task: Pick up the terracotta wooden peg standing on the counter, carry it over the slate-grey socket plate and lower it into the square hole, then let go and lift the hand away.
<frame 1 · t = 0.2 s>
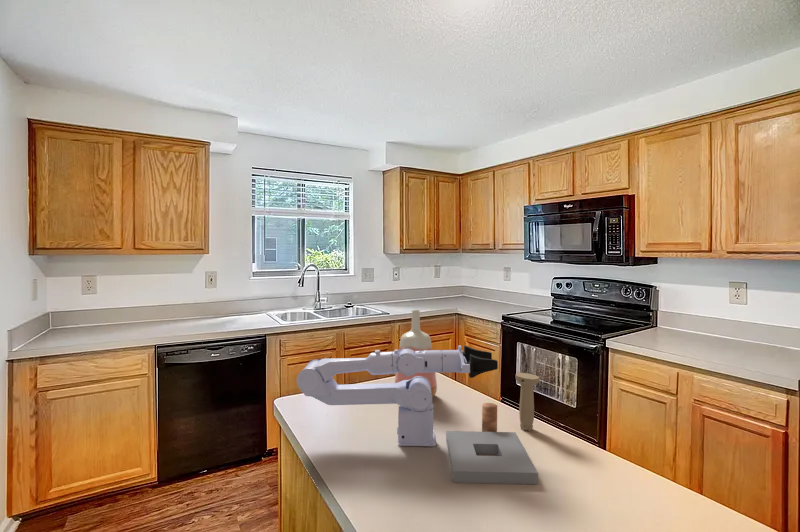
hand: (494, 360, 109), 21 cm above the countertop, tool horizontal, fingers open, 7 cm apart
vase: (415, 397, 142), on the countertop
socket plate: (487, 460, 100), on the countertop
peg: (489, 434, 113), on the countertop
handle: (526, 429, 117), on the countertop
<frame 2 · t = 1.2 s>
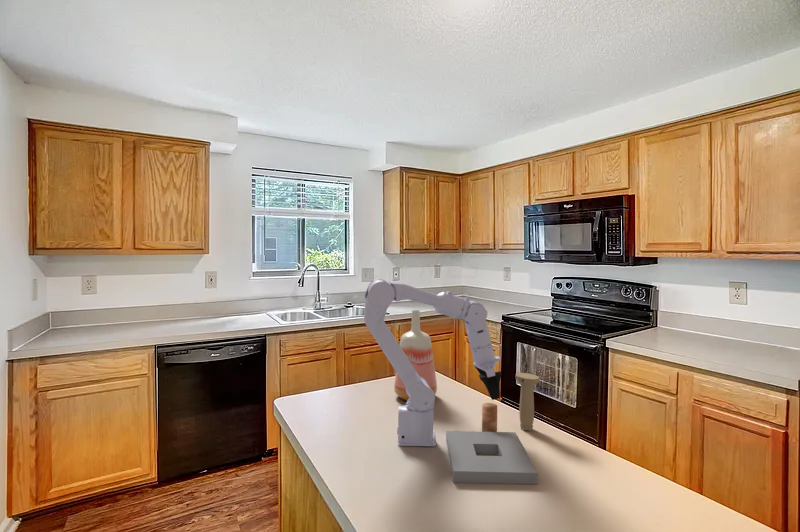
hand: (493, 392, 113), 12 cm above the countertop, tool tilted 15°, fingers open, 7 cm apart
nothing on the countertop moved.
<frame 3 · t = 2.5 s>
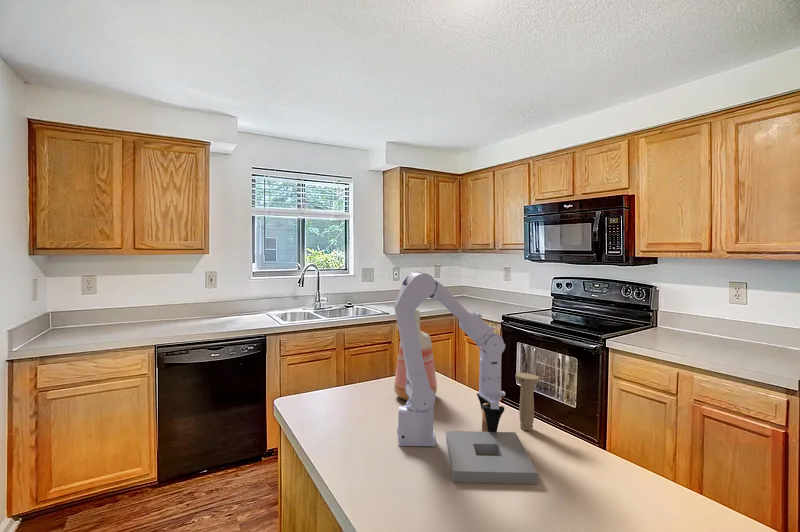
hand: (489, 425, 113), 2 cm above the countertop, tool pointing down, fingers open, 7 cm apart
nothing on the countertop moved.
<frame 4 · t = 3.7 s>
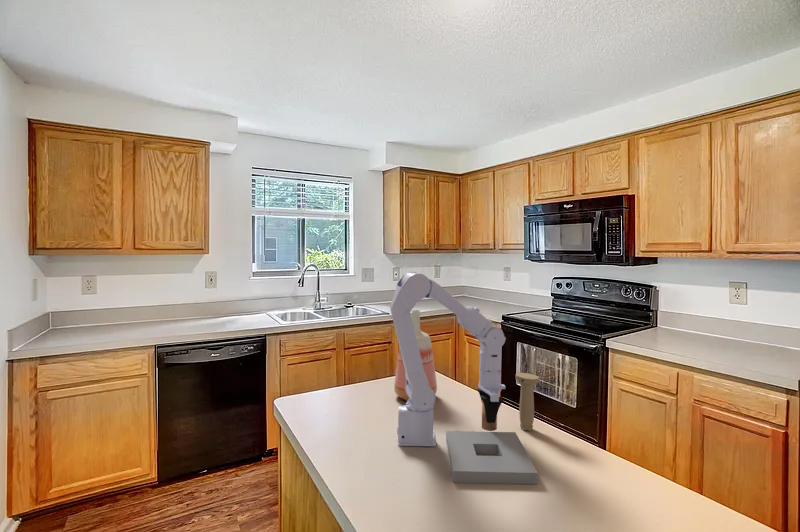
hand: (489, 418, 113), 4 cm above the countertop, tool pointing down, fingers closed on peg, 4 cm apart
peg: (489, 427, 113), point 2 cm above the countertop, touching gripper
everything else where it was.
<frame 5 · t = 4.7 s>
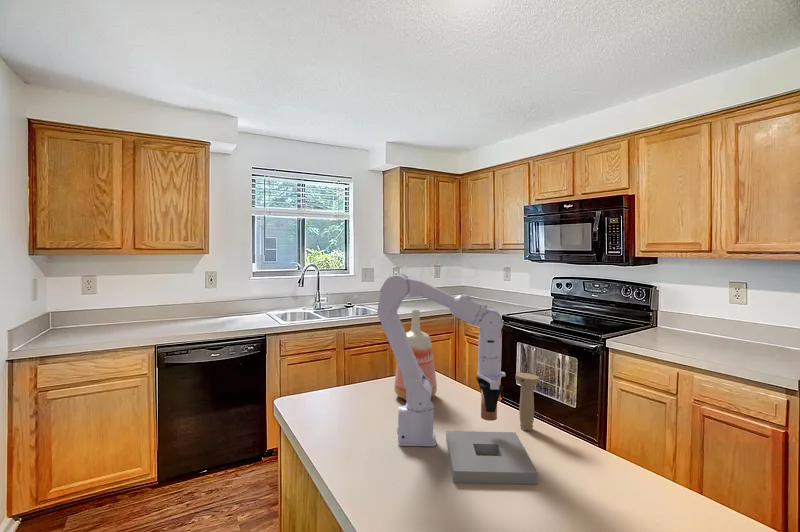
hand: (488, 408, 108), 9 cm above the countertop, tool pointing down, fingers closed on peg, 4 cm apart
peg: (488, 417, 108), point 7 cm above the countertop, touching gripper
everything else where it was.
when the fingers open (4 cm above the countertop, at t = 6.7 s): peg drops 1 cm, resting in socket plate.
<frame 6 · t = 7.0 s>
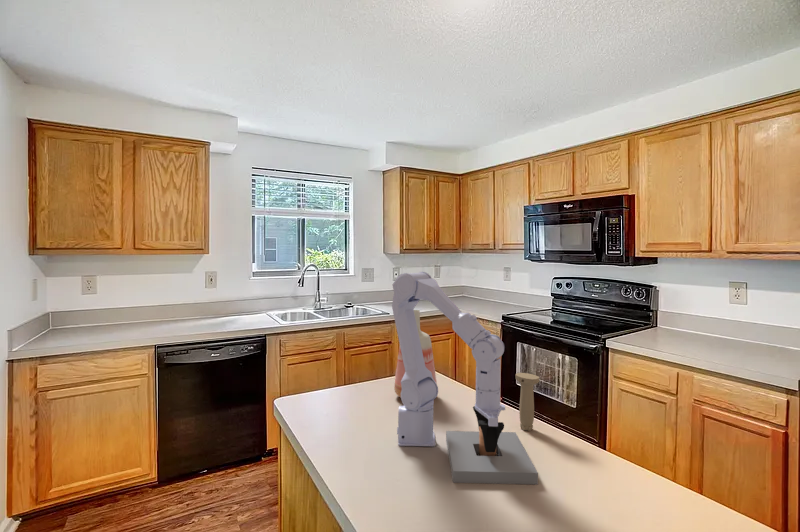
hand: (487, 443, 99), 4 cm above the countertop, tool pointing down, fingers open, 7 cm apart
peg: (487, 460, 100), resting in socket plate
everything else where it was.
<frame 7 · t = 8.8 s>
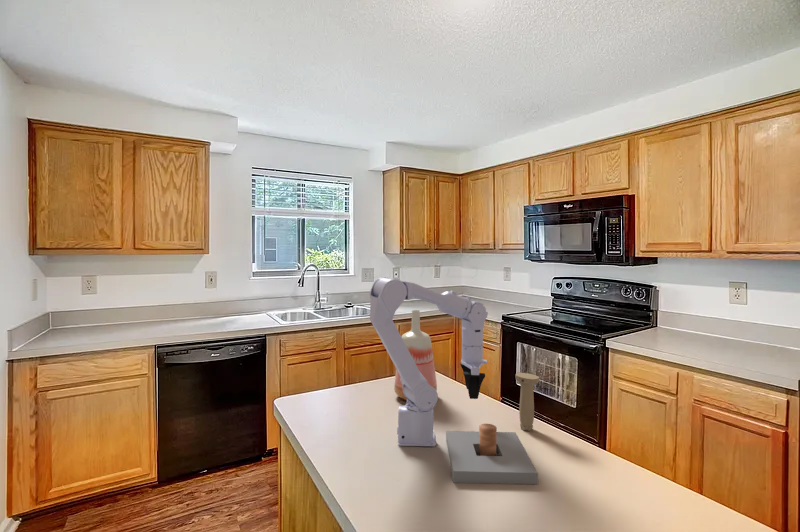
hand: (471, 393, 115), 10 cm above the countertop, tool pointing down, fingers open, 7 cm apart
nothing on the countertop moved.
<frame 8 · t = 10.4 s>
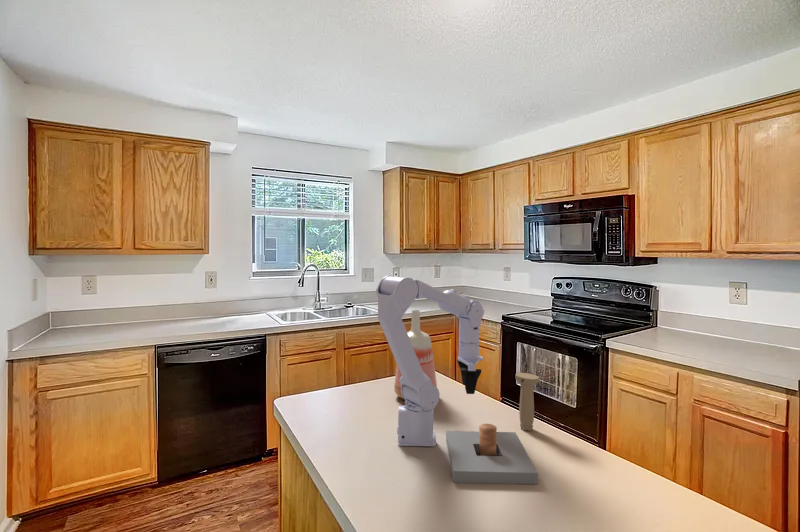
hand: (468, 389, 119), 10 cm above the countertop, tool pointing down, fingers open, 7 cm apart
nothing on the countertop moved.
at the end: peg 0.1 cm off-centre on the socket plate, point 0.0 cm above the socket plate's base; peg tilted 0°; the gripper is holding nothing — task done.
